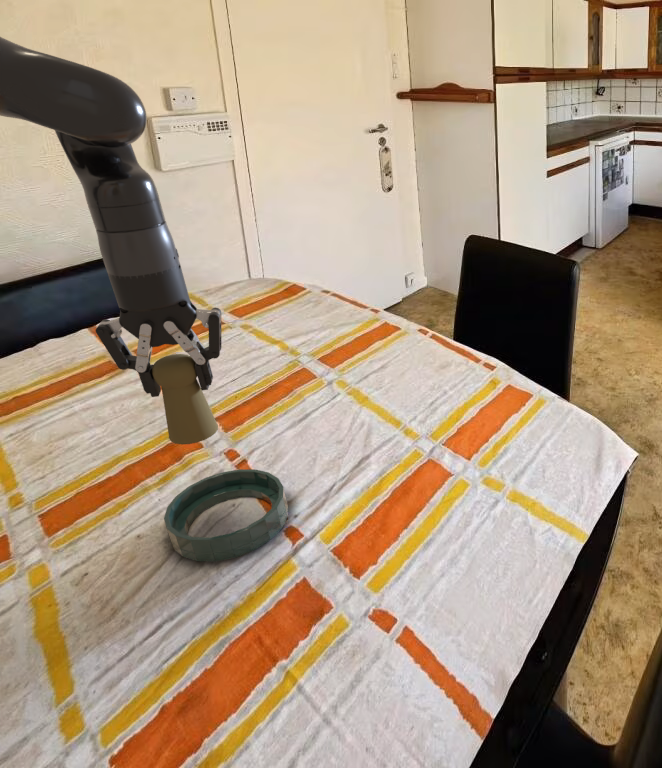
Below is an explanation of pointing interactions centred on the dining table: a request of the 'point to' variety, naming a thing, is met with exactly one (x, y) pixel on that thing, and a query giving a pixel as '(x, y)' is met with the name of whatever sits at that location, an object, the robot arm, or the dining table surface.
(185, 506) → the green faceted band
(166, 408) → the cork
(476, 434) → the dining table surface
